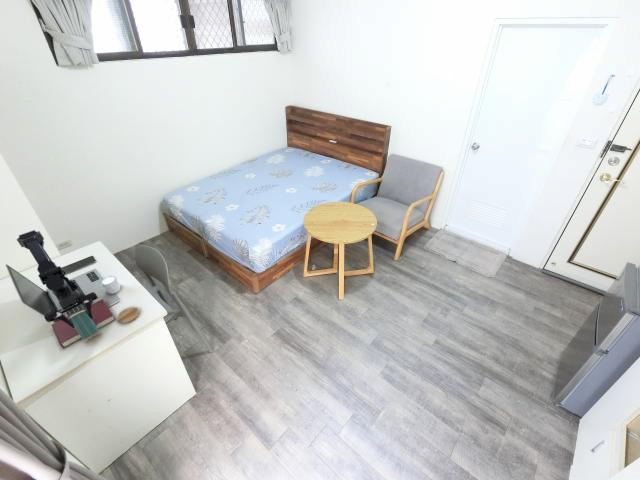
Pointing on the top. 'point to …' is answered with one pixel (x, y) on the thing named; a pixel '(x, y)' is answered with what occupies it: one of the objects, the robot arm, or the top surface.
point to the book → (69, 334)
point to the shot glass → (111, 284)
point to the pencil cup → (84, 325)
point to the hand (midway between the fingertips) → (83, 323)
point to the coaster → (128, 315)
